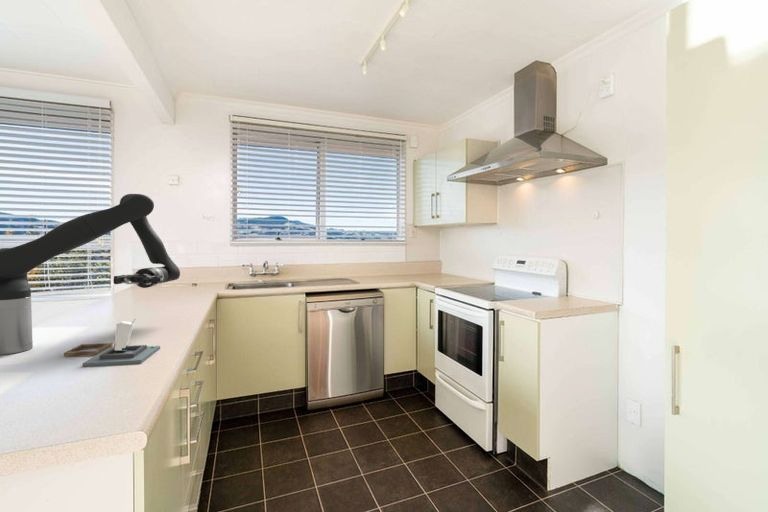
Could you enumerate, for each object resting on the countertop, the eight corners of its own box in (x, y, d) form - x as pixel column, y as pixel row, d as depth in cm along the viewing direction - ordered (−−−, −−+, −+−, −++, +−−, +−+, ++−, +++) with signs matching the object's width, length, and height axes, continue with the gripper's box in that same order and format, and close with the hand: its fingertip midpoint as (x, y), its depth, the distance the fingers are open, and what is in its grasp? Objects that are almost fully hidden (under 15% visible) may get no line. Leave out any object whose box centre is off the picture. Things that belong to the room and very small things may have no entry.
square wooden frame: (63, 356, 109) (63, 352, 109) (81, 347, 118) (81, 344, 118) (97, 355, 111) (97, 351, 111) (112, 346, 120) (112, 342, 120)
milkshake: (123, 350, 108) (129, 317, 111) (107, 350, 109) (114, 318, 111) (134, 350, 112) (140, 319, 115) (119, 351, 113) (125, 319, 116)
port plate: (82, 366, 101) (82, 359, 101) (108, 351, 115) (108, 344, 115) (141, 363, 104) (141, 355, 104) (160, 348, 118) (160, 342, 118)
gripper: (129, 267, 137) (106, 270, 121) (169, 268, 140) (152, 271, 124) (129, 286, 137) (105, 291, 121) (169, 286, 140) (151, 292, 124)
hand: (129, 281), depth 123 cm, fingers open, 8 cm apart
